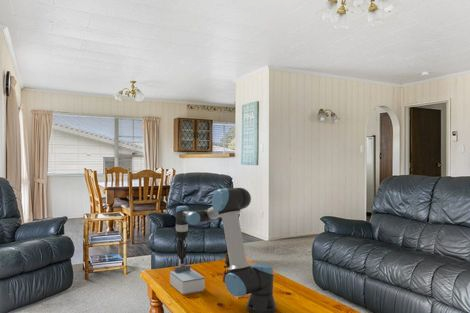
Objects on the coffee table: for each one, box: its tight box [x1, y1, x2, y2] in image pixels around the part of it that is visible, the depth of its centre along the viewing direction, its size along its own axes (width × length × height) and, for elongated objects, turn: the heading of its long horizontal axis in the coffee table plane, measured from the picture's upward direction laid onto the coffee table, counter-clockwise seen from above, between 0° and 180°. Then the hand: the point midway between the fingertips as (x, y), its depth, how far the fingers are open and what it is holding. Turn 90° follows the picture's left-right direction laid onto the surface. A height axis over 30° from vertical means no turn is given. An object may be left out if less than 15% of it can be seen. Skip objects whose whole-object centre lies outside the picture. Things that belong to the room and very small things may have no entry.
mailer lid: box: [169, 264, 206, 282], centre depth 219 cm, size 20×14×4 cm
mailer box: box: [169, 272, 206, 296], centre depth 219 cm, size 20×14×7 cm
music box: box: [221, 251, 230, 283], centre depth 233 cm, size 15×11×20 cm
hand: (181, 268), depth 226 cm, fingers closed
